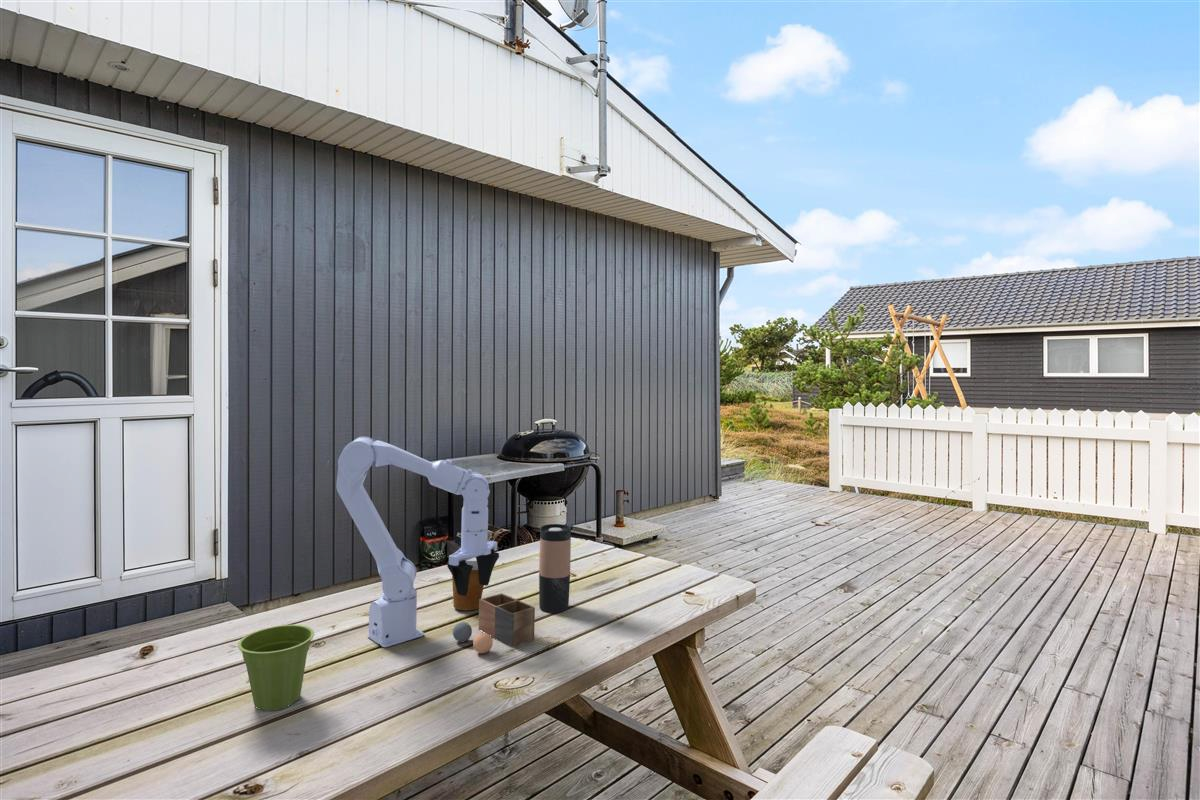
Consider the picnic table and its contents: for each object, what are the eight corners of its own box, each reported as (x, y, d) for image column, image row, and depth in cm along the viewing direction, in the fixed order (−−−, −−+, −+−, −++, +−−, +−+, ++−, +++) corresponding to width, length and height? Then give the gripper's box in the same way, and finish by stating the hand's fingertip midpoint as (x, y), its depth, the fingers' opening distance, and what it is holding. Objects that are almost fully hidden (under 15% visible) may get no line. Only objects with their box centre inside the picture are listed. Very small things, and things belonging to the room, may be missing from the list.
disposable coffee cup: (464, 614, 151) (468, 563, 152) (438, 605, 157) (442, 555, 157) (494, 607, 159) (498, 558, 159) (468, 599, 164) (472, 551, 165)
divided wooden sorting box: (511, 647, 136) (512, 614, 136) (478, 630, 145) (479, 599, 144) (534, 639, 141) (534, 607, 140) (500, 623, 149) (501, 593, 149)
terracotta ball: (480, 658, 131) (480, 639, 130) (469, 652, 133) (469, 633, 133) (496, 652, 134) (496, 633, 133) (485, 646, 136) (485, 628, 136)
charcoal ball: (459, 646, 136) (459, 628, 136) (449, 640, 139) (449, 622, 139) (475, 641, 139) (475, 623, 139) (464, 635, 142) (465, 617, 141)
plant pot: (294, 678, 121) (294, 618, 120) (326, 700, 113) (327, 636, 113) (225, 702, 112) (225, 638, 111) (255, 727, 104) (256, 659, 103)
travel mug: (571, 603, 163) (573, 524, 162) (566, 614, 155) (568, 532, 154) (541, 601, 164) (543, 523, 163) (535, 612, 156) (537, 530, 155)
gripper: (467, 538, 135) (466, 602, 135) (508, 524, 147) (507, 583, 148) (441, 533, 138) (440, 596, 138) (483, 520, 151) (482, 578, 151)
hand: (473, 589), depth 143 cm, fingers open, 7 cm apart
